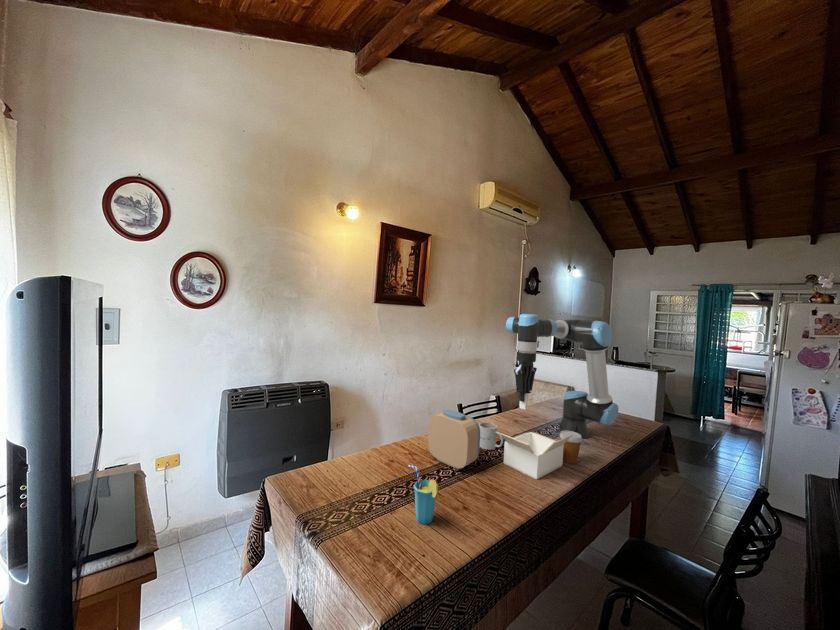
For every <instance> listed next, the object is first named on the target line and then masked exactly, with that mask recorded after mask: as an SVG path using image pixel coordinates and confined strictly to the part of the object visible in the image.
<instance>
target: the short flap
mask: <svg viewBox="0 0 840 630" xmlns="http://www.w3.org/2000/svg"><path fill="white" fill-rule="evenodd" d="M500 433H501V435H502V436H503V440H504V442H505V441H506V442H507V443H510V444H512V445H514V446H517V447H519V448H521V449H524V450H526V451H528V452H531V453H533V454H534V452H533V450H532V449H531V447H530V446H529V445H528V444H526V443H524V442H522V441H519V440H517V439H514V438H512V436H509V435H506V434H505V433H502V432H500Z"/></svg>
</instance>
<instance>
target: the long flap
mask: <svg viewBox="0 0 840 630" xmlns="http://www.w3.org/2000/svg"><path fill="white" fill-rule="evenodd" d="M572 436H573V435H570V436H567V437H565V438H563V439H558V440H556V442H553V443H552V444H551V445H550V446H549V447H548V448H547V449H546V450H545V451H544V452H543V454H544V453H546V452H548V451H551V450H553V449H555V448H557V447H559V446H562V445H563V444H564V443H565V442H566V441H567V440H568V439H569V438H570V437H572Z"/></svg>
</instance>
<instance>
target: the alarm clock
mask: <svg viewBox="0 0 840 630" xmlns="http://www.w3.org/2000/svg"><path fill="white" fill-rule="evenodd" d="M429 419H430V420H429V422H428V436H427V437H428V440H427V444H428V445H427V446H428V450H429V452H430V454H431V455H432V456H433V457H434V458H435V459H436V461H437V462H440V463H442V464H444V465H446V466H448V467H450V466H451V467H450V468H452V467H453V468H452V469H454V468H455V470H456V471H459V469H460V470H461V469H463V468H464V467H467V466H469V465H470V464H471V463H474V462H475V461H476V460H477V459H478V458H479V455H480V449H481V448H480V427H479V423H478V422H477V420H476V419H474V418H473V417H470V416H468V415H466V414H464V413H462V412H459V411H456V410H451V409H445V410H443V411H442V412H441V413H437V414H435V415H433V416H431V418H429Z"/></svg>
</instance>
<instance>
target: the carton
mask: <svg viewBox="0 0 840 630" xmlns="http://www.w3.org/2000/svg"><path fill="white" fill-rule="evenodd" d="M511 437H512V436H511ZM512 438H514V439H517V440H519V441H522V442H524V443H526V444H528V445H529V446H530V447H531V449H532V450H533V452H534V454H533V453H531V452H528V451H526V450H524V449H521V448H519V447H517V446H514V445H512V444H510V443H507V442H506V441H505V440H504V444H503V445H504V447H503V464H504V465H506V466H507V467H510V468H512V469H514V470H516V471H519V472H520V473H522V474H524V475H526V476H528V477H530V478H532V479H534V480H536V481H537V480H539V479H540V478H543V477H545V476H547V475H548V474H551V472H554V471H556V470H558V469H560V468H561V467H563V462H564V461H563V448H564V444H563V445H562V446H559V447H557V448H555V449H553V450H551V451H548V452H546V453H544V454H543V452H544V451H545V450H546V449H547V448H548V447H549V446H550V445H551V444H552V443H553V442H556V441H557V440H555V439H553V438H551V437H547V436H544V435H542V434H540V433H538V432H533V431H530V432H527V431H526V432H524V433H520V434H518V435H515V436H513V437H512Z"/></svg>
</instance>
